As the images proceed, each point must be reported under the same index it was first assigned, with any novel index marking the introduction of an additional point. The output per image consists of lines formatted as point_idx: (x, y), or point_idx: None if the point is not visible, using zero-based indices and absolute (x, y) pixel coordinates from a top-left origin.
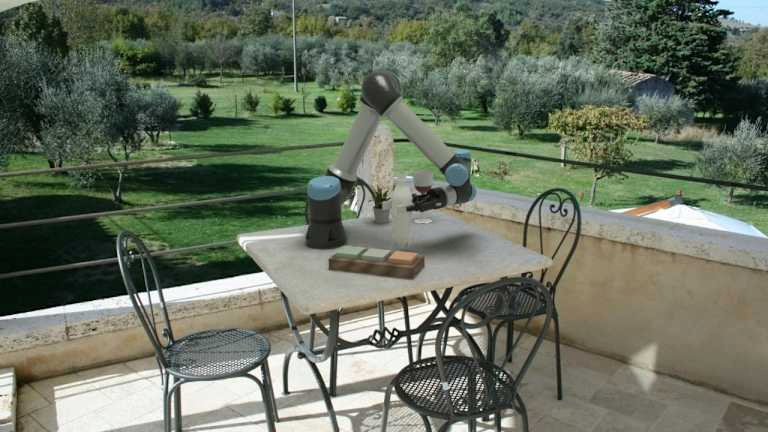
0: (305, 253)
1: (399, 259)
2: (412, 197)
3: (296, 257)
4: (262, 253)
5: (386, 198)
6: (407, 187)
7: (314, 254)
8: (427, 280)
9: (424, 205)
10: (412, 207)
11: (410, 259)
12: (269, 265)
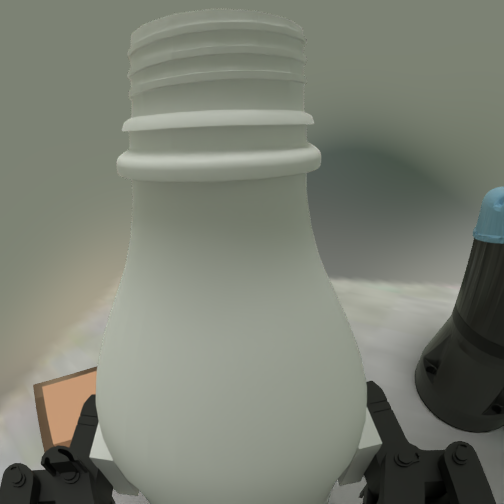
0: (397, 333)
1: (74, 378)
2: (125, 472)
3: (375, 315)
4: (418, 288)
5: None
6: (121, 295)
7: (382, 343)
8: (13, 417)
9: (3, 501)
10: (78, 431)
11: (45, 391)
12: (345, 280)
